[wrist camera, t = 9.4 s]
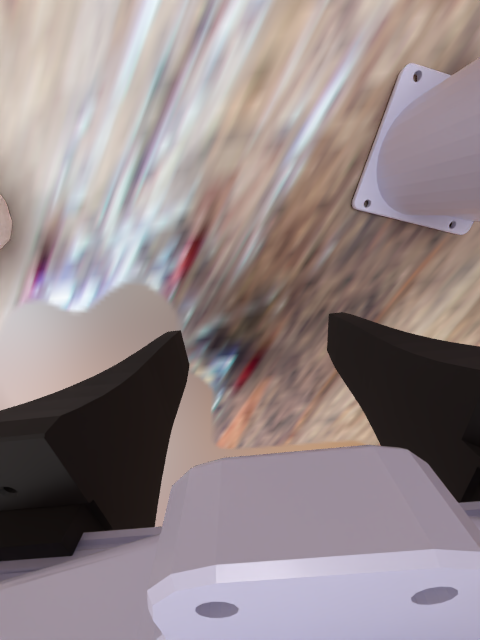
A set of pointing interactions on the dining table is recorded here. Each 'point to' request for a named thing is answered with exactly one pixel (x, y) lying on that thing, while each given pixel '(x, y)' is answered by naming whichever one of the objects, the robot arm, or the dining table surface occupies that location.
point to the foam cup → (4, 223)
